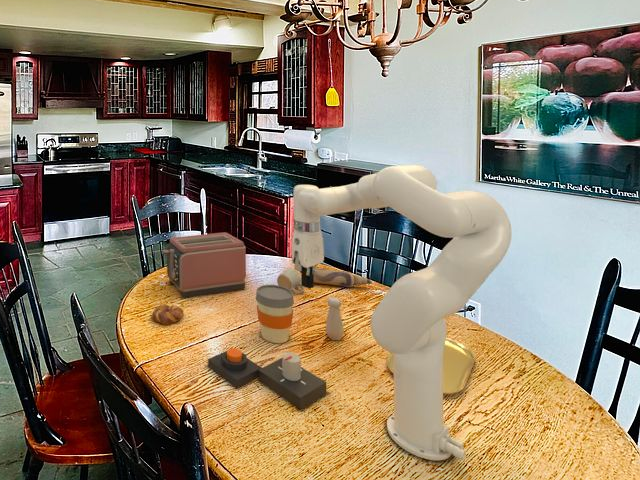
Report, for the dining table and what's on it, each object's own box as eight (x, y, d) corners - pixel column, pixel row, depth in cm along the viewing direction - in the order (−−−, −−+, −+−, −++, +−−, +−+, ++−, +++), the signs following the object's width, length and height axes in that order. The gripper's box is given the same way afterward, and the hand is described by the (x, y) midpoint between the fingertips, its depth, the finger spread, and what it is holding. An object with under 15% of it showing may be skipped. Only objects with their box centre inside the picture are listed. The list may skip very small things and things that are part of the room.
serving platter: (377, 375, 114) (377, 370, 114) (411, 330, 138) (411, 326, 138) (458, 409, 100) (457, 402, 100) (479, 352, 124) (479, 347, 124)
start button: (245, 359, 116) (245, 353, 116) (234, 364, 113) (234, 358, 113) (234, 352, 119) (234, 346, 119) (223, 357, 117) (223, 351, 117)
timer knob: (289, 367, 112) (289, 349, 113) (304, 376, 109) (304, 357, 109) (278, 374, 110) (278, 354, 110) (293, 383, 106) (293, 363, 106)
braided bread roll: (178, 309, 155) (178, 300, 155) (187, 323, 144) (187, 312, 144) (148, 313, 152) (148, 303, 152) (155, 327, 141) (155, 317, 141)
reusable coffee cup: (298, 333, 137) (298, 289, 137) (288, 350, 126) (287, 303, 127) (263, 323, 144) (263, 281, 144) (250, 338, 134) (250, 294, 134)
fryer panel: (326, 393, 106) (326, 381, 106) (300, 409, 100) (300, 397, 100) (284, 366, 118) (283, 356, 118) (258, 380, 112) (258, 369, 112)
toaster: (157, 283, 181) (156, 238, 181) (228, 273, 191) (227, 231, 192) (170, 301, 162) (170, 251, 162) (248, 289, 173) (248, 242, 173)
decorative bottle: (308, 285, 177) (308, 270, 177) (308, 279, 184) (308, 264, 185) (373, 292, 169) (373, 277, 169) (370, 286, 176) (370, 271, 176)
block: (261, 375, 114) (261, 361, 114) (236, 388, 108) (236, 373, 109) (232, 355, 124) (232, 342, 124) (208, 366, 118) (207, 352, 118)
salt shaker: (346, 342, 131) (345, 303, 131) (327, 340, 132) (327, 301, 132) (341, 333, 136) (341, 295, 137) (323, 331, 138) (323, 294, 138)
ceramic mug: (275, 288, 174) (275, 271, 174) (285, 283, 179) (285, 266, 179) (298, 297, 166) (298, 278, 166) (307, 291, 171) (307, 273, 171)
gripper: (301, 232, 113) (302, 297, 113) (332, 225, 121) (333, 285, 121) (280, 227, 119) (281, 288, 119) (311, 220, 127) (311, 277, 127)
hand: (307, 286), depth 120 cm, fingers closed
